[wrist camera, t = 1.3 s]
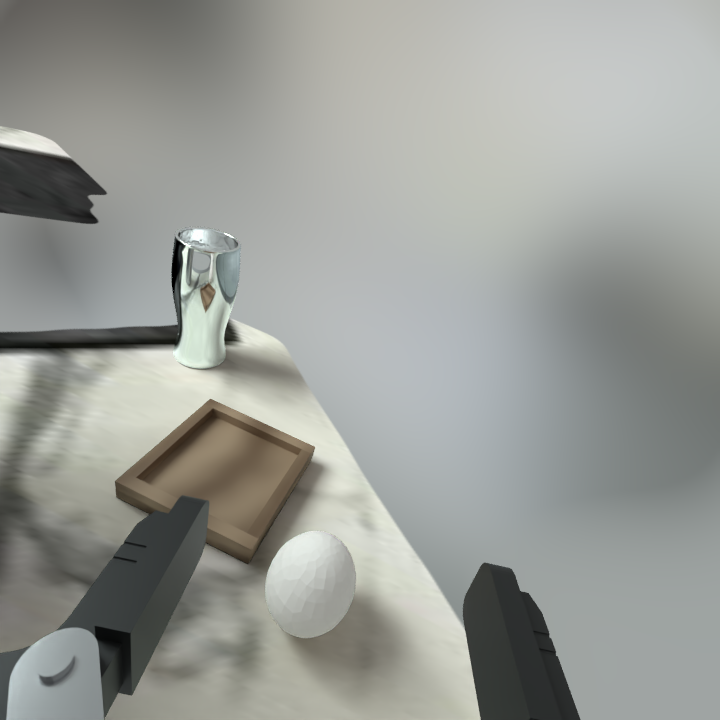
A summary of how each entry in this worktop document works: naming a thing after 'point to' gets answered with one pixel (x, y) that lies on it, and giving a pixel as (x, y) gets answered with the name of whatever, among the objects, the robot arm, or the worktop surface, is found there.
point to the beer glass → (203, 293)
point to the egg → (310, 584)
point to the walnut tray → (221, 475)
